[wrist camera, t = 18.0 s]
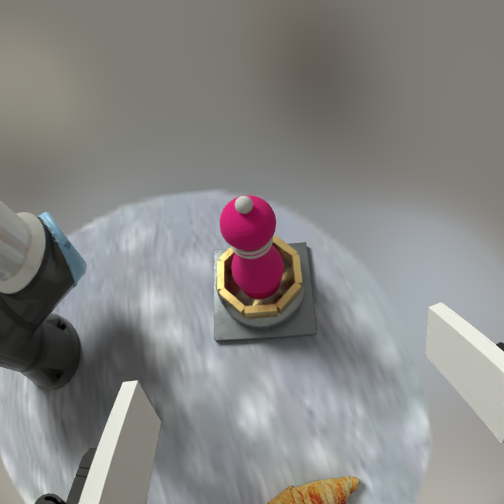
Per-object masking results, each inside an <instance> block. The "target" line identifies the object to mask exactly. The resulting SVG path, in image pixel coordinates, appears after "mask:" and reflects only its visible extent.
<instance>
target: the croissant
mask: <svg viewBox="0 0 504 504" xmlns="http://www.w3.org/2000/svg"><path fill="white" fill-rule="evenodd" d="M358 484H359V479H358V478H357V477H351V476H350V477H342V478H330V479H325V480H318V481H313V482H310V483H307V484H304V485H301V486H298V487H294V486H291V487H288V488H287V489H286V490H284V491H283V492H281V493H280V494H279V495H278V496H276V497H275V498H274V499H273V500H271V501H270V502H268V503H267V504H346V502H347V499H348V498H349V496H350V494H351V493H352V492H354V491H355V490H356V489H357V487H358Z"/></svg>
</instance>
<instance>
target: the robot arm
mask: <svg viewBox="0 0 504 504" xmlns="http://www.w3.org/2000/svg"><path fill="white" fill-rule="evenodd" d="M86 268H87V267H86V262H85V261H84V259H83V258H82V257H81V255H80V254H79V253H78V252H77V250H76V249H75V248H74V247H73V245H72V244H71V243H70V241H69V240H68V239H67V237H66V236H65V235H64V233H63V232H62V231H61V229H60V228H59V226H58V225H57V224H56V222H55V221H54V220H53V218H52V217H51V215H50V214H49V213H48V212H44V213H43V214H41V215H39V216H38V217H36V216H34V215H33V214H30V213H25V212H24V213H17V214H15V213H14V212H13V211H12V210H10V209H9V208H8V207H7V206H6V205H5V204H4V203H2V202H1V201H0V366H1V367H4V368H7V369H11V370H14V371H18V372H21V373H22V374H23V375H24V376H26V377H27V378H28V379H30V380H31V381H32V382H33V383H35V384H36V385H38V386H41V387H44V388H49V389H57V388H60V387H62V386H64V385H65V384H66V383H68V382H69V380H70V379H71V378H72V376H73V375H74V373H75V371H76V368H77V365H78V361H79V354H80V346H79V340H78V336H77V333H76V331H75V329H74V327H73V326H72V324H71V323H70V322H69V321H67V320H66V319H64V318H63V317H61V316H59V315H56V314H53V313H51V312H52V311H53V310H54V309H55V307H56V306H57V305H58V304H59V303H60V302H61V301H62V299H63V298H64V297H65V296H66V295H67V294H68V293H69V292H70V291H71V290H72V289H73V287H75V286H76V285H77V282H78V281H79V280H80V279H81V277H82V276H83V275H84V274H85V272H86ZM428 310H429V311H428V330H427V343H426V354H425V355H426V356H427V357H428V359H429V360H430V361H431V362H432V363H433V364H434V365H435V366H436V367H437V368H438V370H439V371H440V372H441V373H442V374H443V375H444V376H445V377H446V379H447V380H448V381H449V382H450V383H451V384H452V385H453V387H454V388H455V389H456V390H457V391H458V392H459V393H460V395H461V396H462V397H463V398H464V399H465V400H466V401H467V403H468V404H469V405H470V406H471V407H472V408H473V410H474V411H475V412H476V413H477V414H478V416H479V417H480V418H481V419H482V420H483V422H484V423H485V424H486V425H487V426H488V428H489V429H490V430H491V431H492V433H493V434H494V435H495V436H496V437H497V439H498V440H499V441H500V442H501V444H502V443H503V442H504V343H501V342H500V343H498V344H496V345H495V344H494V343H493V342H491V341H490V340H489V339H488V338H487V337H485V336H484V335H483V334H481V333H480V332H479V331H478V330H476V329H475V328H474V327H473V326H472V325H470V324H469V323H468V322H466V321H465V320H464V319H463V318H461V317H460V316H459V315H457V314H456V313H455V312H454V311H452V310H451V309H450V308H448V307H447V306H446V305H444V304H443V303H438V304H436V305H433V306H431V307H429V308H428ZM160 427H161V420H160V419H159V417H158V415H157V414H156V412H155V410H154V409H153V407H152V405H151V403H150V402H149V400H148V398H147V396H146V394H145V393H144V391H143V389H142V387H141V385H140V383H139V381H138V380H136V381H128V382H123V383H122V386H121V388H120V391H119V393H118V396H117V398H116V401H115V403H114V406H113V408H112V411H111V413H110V416H109V418H108V421H107V424H106V426H105V429H104V432H103V434H102V437H101V440H100V442H99V445H98V448H90V449H89V450H88V451H87V452H86V454H85V455H84V456H83V457H82V460H81V463H80V465H79V469H78V471H77V473H76V477H75V479H74V482H73V484H72V487H71V490H70V493H69V496H68V499H67V501H66V502H64V501H63V500H62V499H61V498H60V497H59V496H57V495H55V494H45V495H42V496H41V497H40V498H38V500H37V501H36V502H35V504H146V503H147V497H148V491H149V485H150V480H151V474H152V468H153V463H154V458H155V453H156V447H157V442H158V437H159V432H160Z"/></svg>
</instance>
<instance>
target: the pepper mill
mask: <svg viewBox="0 0 504 504" xmlns="http://www.w3.org/2000/svg"><path fill="white" fill-rule="evenodd" d="M275 228H276V218H275V214H274V212H273V210H272V208H271V206H270V205H269V204H268V203H267V202H266V201H265V200H263V199H261V198H259V197H256V196H249V195H247V196H241V197H237V198H235V199H233V200H232V201H230V202H229V203H228V204H227V205H226V206H225V208H224V209H223V211H222V214H221V217H220V229H221V233H222V235H223V237H224V239H225V240H226V242H227V243H229V244H230V245H231V248H232V250H233V251H234V252H235V255H234V257H233V261H232V275H233V278H234V280H235V282H236V283H237V285H238V286H239V287H240V288H241V289H242V290H243V292H244V293H245V294H246V295H247V296H249V297H251V298H253V299H266V298H269V297H270V296H272V295H273V294H275V293H276V292H277V290H278V289H279V287H280V284H281V279H282V276H283V273H284V264H283V260H282V257H281V255H280V253H279V252H278V251H277V249H276V248H275V247H274V246H272V243H273V235H274V232H275Z"/></svg>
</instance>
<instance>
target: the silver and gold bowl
mask: <svg viewBox="0 0 504 504" xmlns="http://www.w3.org/2000/svg"><path fill="white" fill-rule="evenodd" d="M272 246H274V247H275V248H276V249H277V251H278V252H279V253H280V255H281V257H282V260H283V264H284V273H283V276H282V279H281V284H280V287H279V289H278V290H277V292H276V293H275V294H273V295H272V296H270V297H269V298H266V299H253V298H251V297H249V296H247V295H246V294H245V293H244V292H243V290H242V289H241V288H240V287H239V286H238V285H237V283H236V282H235V280H234V278H233V275H232V261H233V257H234V255H235V252H234V251H233V250H232V248H231V247H230V248H229V249H221V250H215V272H214V340H215V341H237V340H255V339H271V338H284V337H296V336H307V335H316V334H317V330H316V320H315V311H314V302H313V293H312V285H311V276H310V268H309V260H308V253H307V245H306V242H304V243H292V244H286V243H285V242H284V241H282V240H281V239H279V238H278V237H277V236H275V235H274V236H273V243H272Z"/></svg>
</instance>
